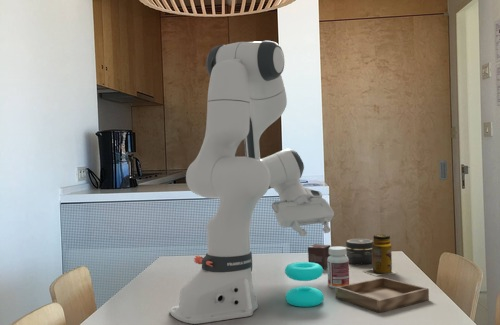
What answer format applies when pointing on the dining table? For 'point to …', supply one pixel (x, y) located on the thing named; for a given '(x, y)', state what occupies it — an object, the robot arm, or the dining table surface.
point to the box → (319, 254)
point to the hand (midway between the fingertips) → (316, 233)
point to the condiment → (381, 256)
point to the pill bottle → (338, 267)
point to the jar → (359, 251)
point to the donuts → (304, 294)
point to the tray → (382, 294)
